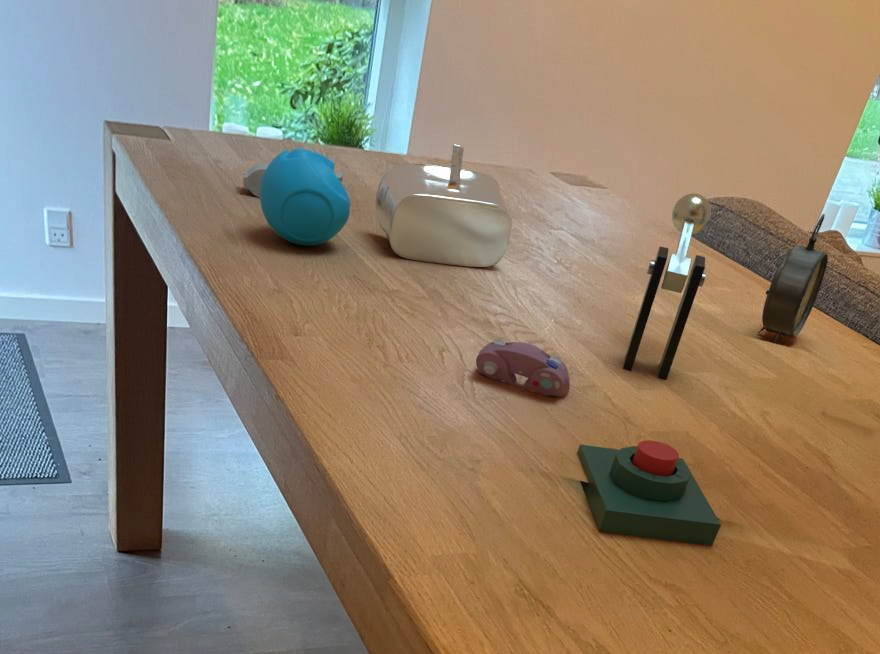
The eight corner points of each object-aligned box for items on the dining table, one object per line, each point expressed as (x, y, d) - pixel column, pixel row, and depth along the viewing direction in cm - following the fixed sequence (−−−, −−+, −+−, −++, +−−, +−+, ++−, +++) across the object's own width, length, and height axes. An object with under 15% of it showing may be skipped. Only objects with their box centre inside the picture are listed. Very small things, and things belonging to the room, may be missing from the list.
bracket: (607, 352, 118) (643, 233, 110) (681, 371, 117) (723, 252, 109) (598, 387, 108) (637, 260, 100) (679, 408, 107) (724, 281, 99)
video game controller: (468, 396, 104) (471, 348, 98) (484, 366, 106) (488, 317, 100) (557, 424, 102) (566, 377, 96) (571, 393, 104) (581, 345, 98)
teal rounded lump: (359, 256, 132) (372, 163, 125) (287, 260, 126) (296, 162, 119) (311, 227, 139) (320, 138, 132) (240, 230, 133) (246, 136, 126)
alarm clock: (781, 355, 128) (834, 225, 119) (742, 341, 130) (791, 213, 120) (802, 337, 136) (853, 214, 126) (764, 324, 138) (812, 202, 128)
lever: (670, 213, 113) (681, 181, 109) (706, 222, 113) (718, 190, 109) (649, 292, 107) (660, 261, 103) (687, 302, 106) (699, 271, 103)
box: (573, 465, 92) (584, 425, 89) (675, 478, 93) (689, 440, 90) (598, 532, 82) (612, 490, 80) (712, 546, 83) (729, 505, 81)
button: (627, 455, 86) (633, 437, 85) (666, 461, 87) (673, 443, 86) (637, 475, 84) (643, 456, 83) (677, 480, 84) (684, 462, 83)
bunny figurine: (243, 155, 150) (342, 157, 151) (245, 191, 153) (341, 193, 154) (242, 170, 142) (346, 172, 144) (244, 207, 145) (345, 209, 147)
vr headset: (491, 248, 146) (513, 142, 137) (508, 274, 137) (534, 162, 128) (370, 232, 142) (386, 122, 133) (381, 257, 133) (398, 141, 124)
